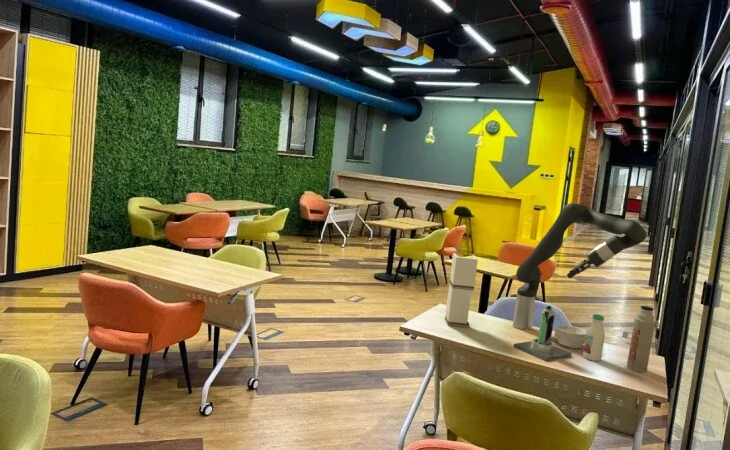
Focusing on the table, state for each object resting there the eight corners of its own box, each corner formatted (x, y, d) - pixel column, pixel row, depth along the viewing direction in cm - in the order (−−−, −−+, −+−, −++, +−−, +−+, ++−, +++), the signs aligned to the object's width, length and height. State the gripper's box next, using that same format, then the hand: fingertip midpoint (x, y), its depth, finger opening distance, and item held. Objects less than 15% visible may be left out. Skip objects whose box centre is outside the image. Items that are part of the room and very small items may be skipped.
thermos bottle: (633, 372, 237) (643, 308, 233) (622, 364, 245) (633, 303, 241) (650, 373, 237) (661, 310, 234) (639, 366, 245) (650, 305, 242)
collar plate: (539, 343, 264) (540, 333, 263) (571, 356, 249) (572, 346, 248) (513, 346, 254) (514, 337, 253) (545, 361, 239) (547, 351, 238)
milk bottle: (600, 357, 252) (607, 315, 249) (601, 362, 244) (608, 319, 242) (582, 353, 254) (588, 311, 252) (583, 359, 247) (589, 315, 244)
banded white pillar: (468, 327, 276) (477, 259, 272) (447, 325, 276) (456, 257, 272) (465, 321, 288) (473, 255, 283) (444, 319, 288) (453, 253, 283)
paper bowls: (558, 337, 276) (560, 322, 275) (590, 346, 268) (592, 330, 267) (549, 344, 264) (551, 328, 263) (581, 353, 255) (584, 336, 254)
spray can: (550, 351, 248) (556, 308, 245) (537, 349, 249) (543, 306, 246) (548, 347, 253) (554, 305, 251) (536, 345, 254) (542, 303, 252)
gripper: (596, 245, 246) (565, 266, 252) (594, 249, 233) (561, 270, 240) (607, 259, 244) (576, 279, 251) (605, 263, 232) (572, 284, 238)
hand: (569, 275), depth 245 cm, fingers open, 8 cm apart
